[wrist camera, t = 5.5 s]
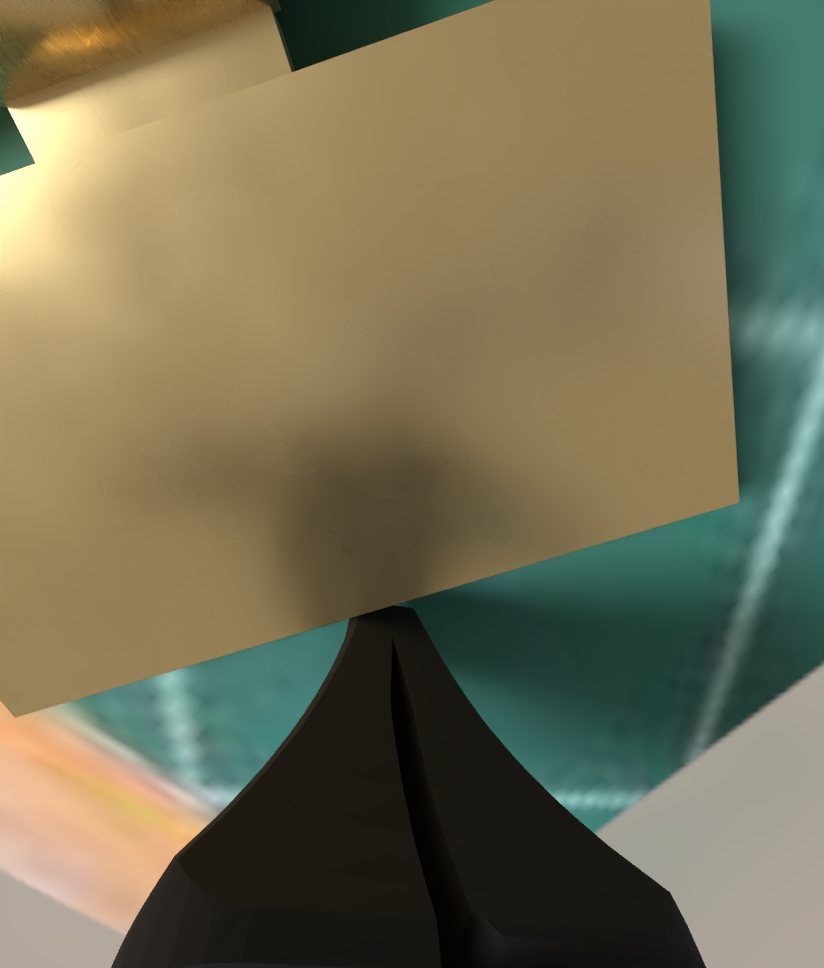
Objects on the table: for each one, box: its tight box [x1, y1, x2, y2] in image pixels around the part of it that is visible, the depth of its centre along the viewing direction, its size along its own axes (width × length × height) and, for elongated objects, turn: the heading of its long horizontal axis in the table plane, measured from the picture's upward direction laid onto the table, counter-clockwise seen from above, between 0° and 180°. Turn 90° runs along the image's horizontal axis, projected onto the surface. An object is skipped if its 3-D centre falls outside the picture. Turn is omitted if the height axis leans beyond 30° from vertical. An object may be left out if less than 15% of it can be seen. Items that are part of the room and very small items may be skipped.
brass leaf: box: [0, 0, 739, 717], centre depth 8 cm, size 12×14×3 cm
